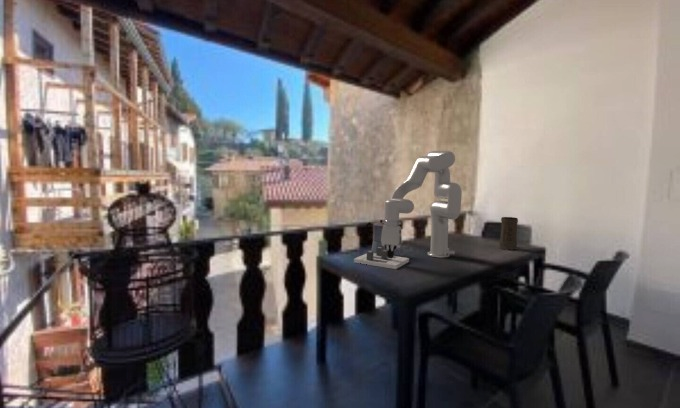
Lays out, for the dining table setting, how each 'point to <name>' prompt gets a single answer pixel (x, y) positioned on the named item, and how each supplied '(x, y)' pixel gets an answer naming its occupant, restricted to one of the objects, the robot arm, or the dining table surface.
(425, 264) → the dining table surface
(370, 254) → the breaker
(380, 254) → the block
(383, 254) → the block
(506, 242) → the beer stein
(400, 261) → the panel
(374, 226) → the moka pot
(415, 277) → the dining table surface
